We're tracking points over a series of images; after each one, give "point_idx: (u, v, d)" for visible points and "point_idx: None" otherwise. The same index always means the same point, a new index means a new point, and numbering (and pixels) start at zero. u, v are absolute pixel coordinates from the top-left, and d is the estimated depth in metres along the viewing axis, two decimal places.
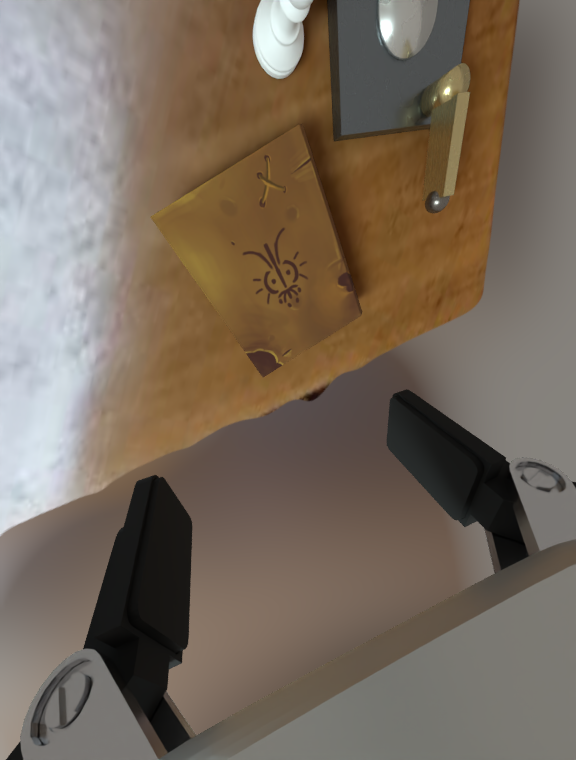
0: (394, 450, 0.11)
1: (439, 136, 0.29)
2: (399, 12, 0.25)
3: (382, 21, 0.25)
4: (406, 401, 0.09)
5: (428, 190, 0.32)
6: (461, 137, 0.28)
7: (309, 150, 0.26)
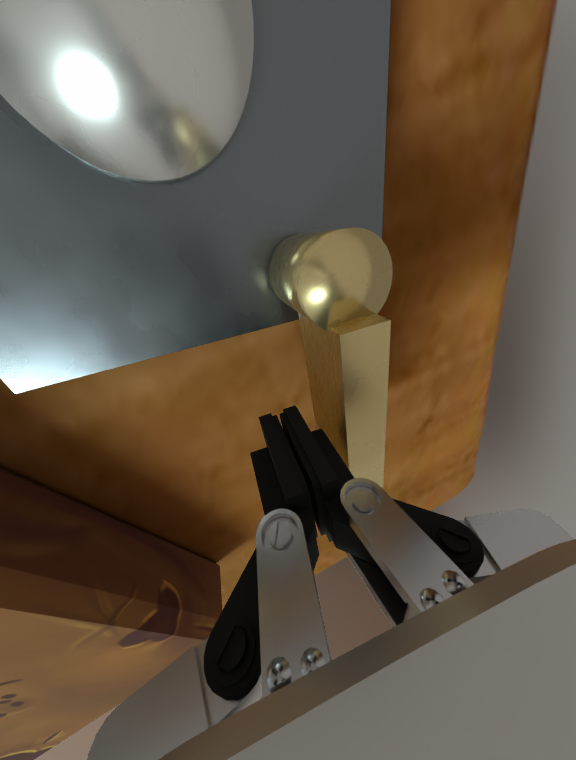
0: None
1: (322, 389, 0.10)
2: (61, 18, 0.06)
3: None
4: (290, 418, 0.10)
5: None
6: (381, 418, 0.09)
7: None
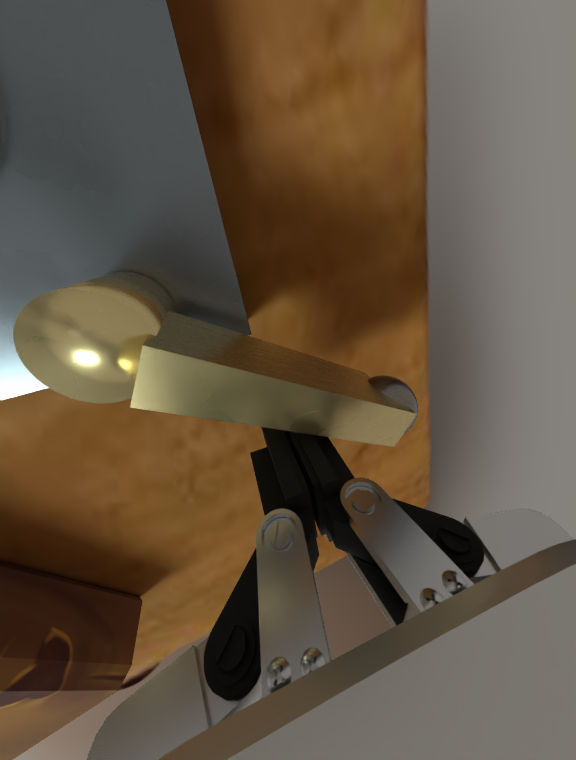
0: None
1: None
2: None
3: None
4: None
5: None
6: (288, 388, 0.07)
7: None
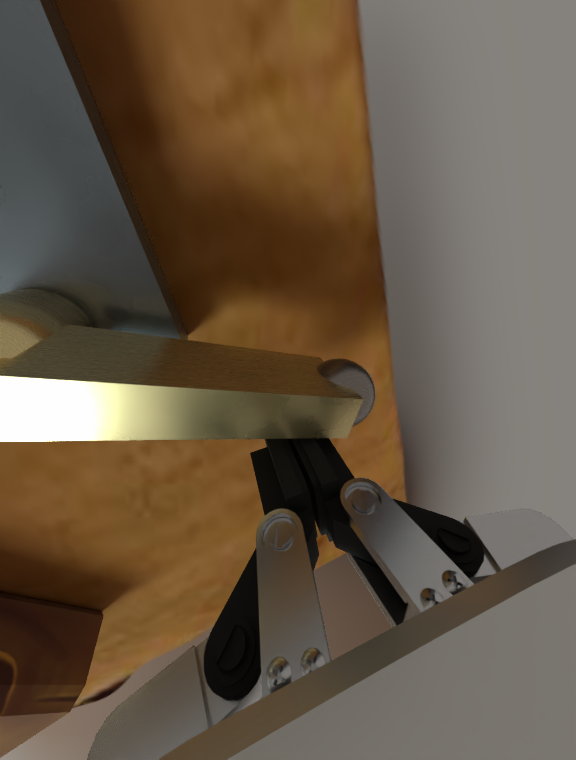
0: None
1: None
2: None
3: None
4: None
5: None
6: (182, 394, 0.06)
7: None
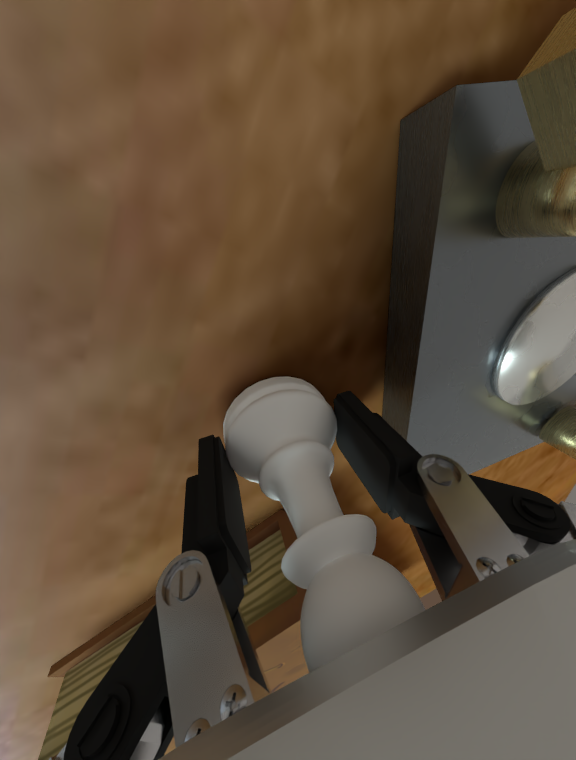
0: (342, 448, 0.11)
1: None
2: (540, 357, 0.12)
3: (504, 378, 0.12)
4: (346, 402, 0.10)
5: None
6: None
7: None
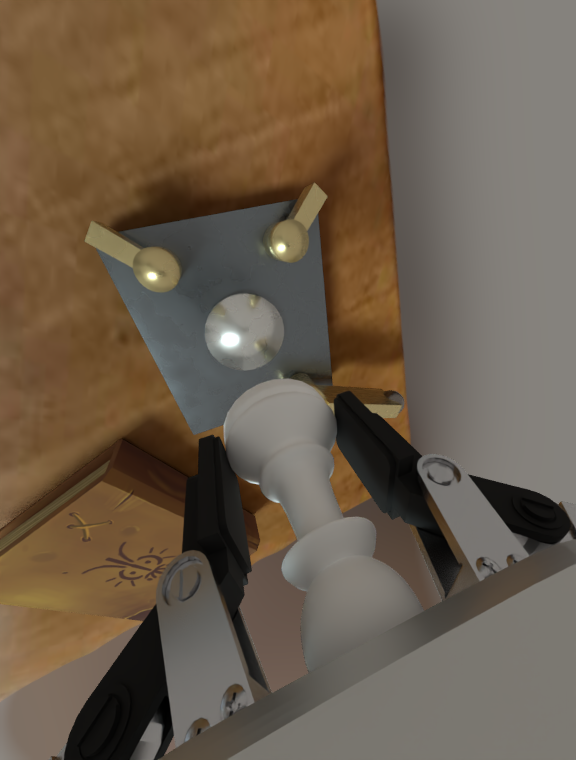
0: (342, 448, 0.11)
1: None
2: (235, 342, 0.22)
3: (215, 354, 0.22)
4: (346, 402, 0.10)
5: None
6: None
7: (129, 484, 0.23)
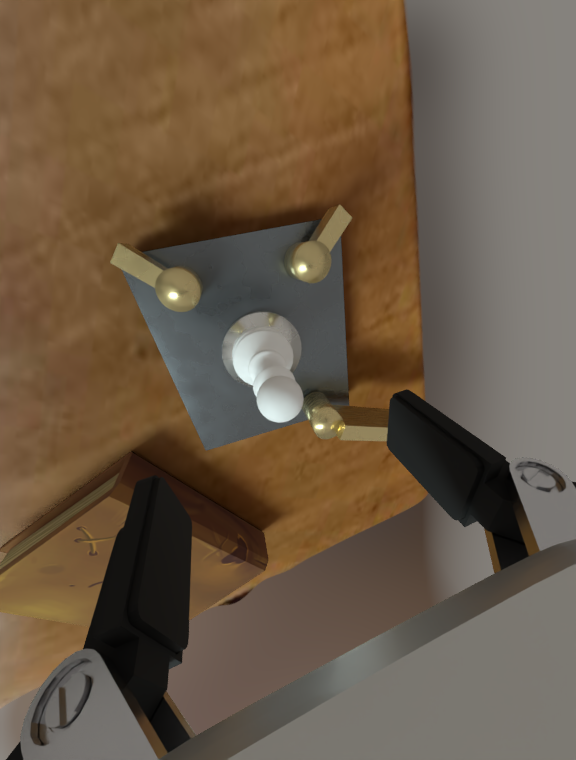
0: (394, 449, 0.11)
1: None
2: None
3: (231, 371, 0.21)
4: (406, 401, 0.09)
5: None
6: (378, 428, 0.23)
7: None
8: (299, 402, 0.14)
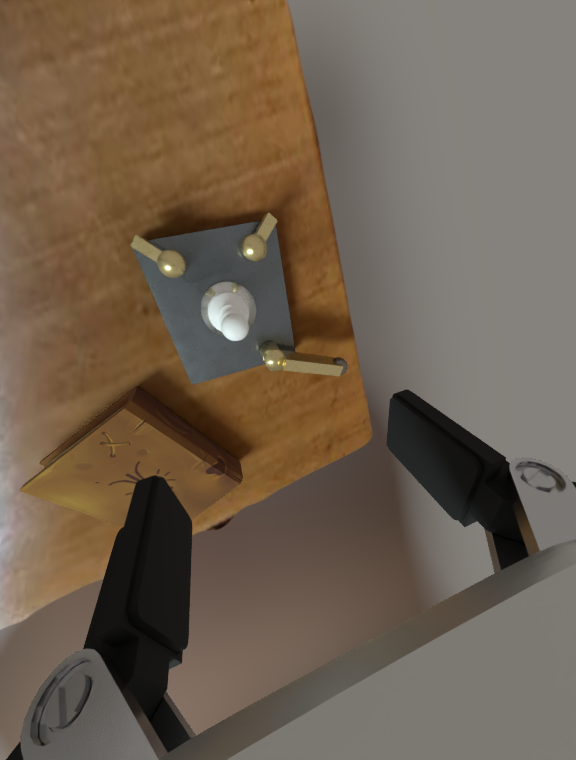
0: (395, 450, 0.11)
1: None
2: None
3: (207, 323, 0.31)
4: (406, 401, 0.09)
5: None
6: (310, 363, 0.33)
7: (142, 414, 0.32)
8: (245, 326, 0.24)
